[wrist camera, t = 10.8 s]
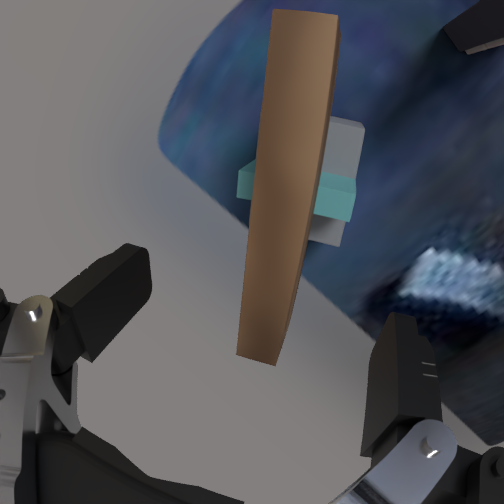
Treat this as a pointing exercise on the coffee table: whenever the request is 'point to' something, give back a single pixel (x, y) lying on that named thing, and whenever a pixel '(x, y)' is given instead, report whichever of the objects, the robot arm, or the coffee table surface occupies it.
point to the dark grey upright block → (478, 27)
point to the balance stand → (326, 180)
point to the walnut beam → (286, 173)
